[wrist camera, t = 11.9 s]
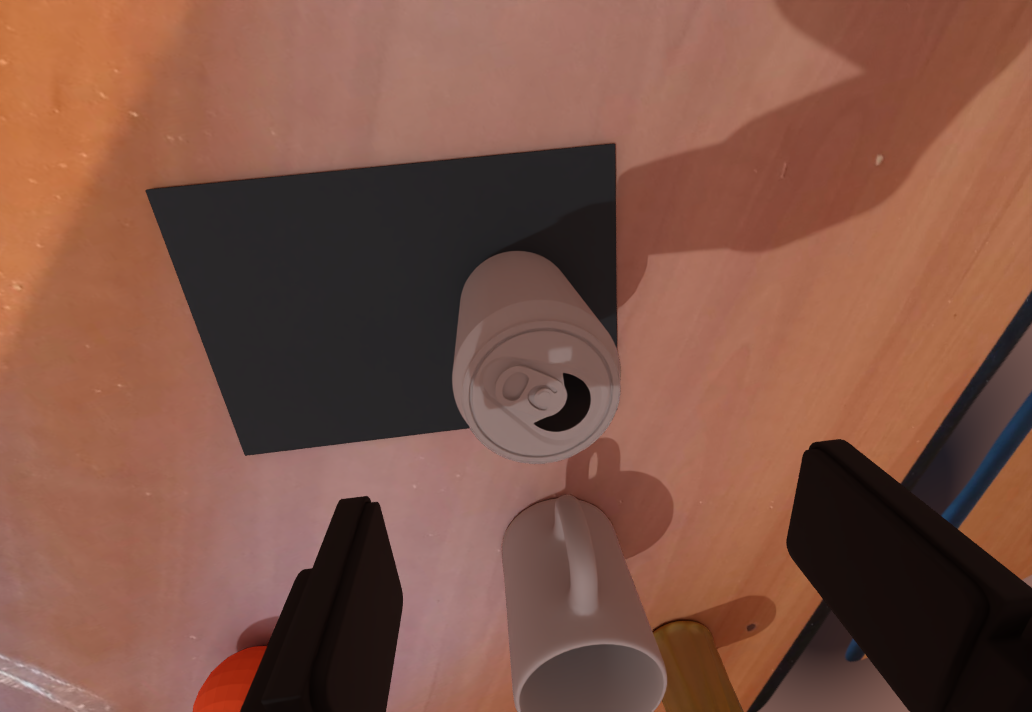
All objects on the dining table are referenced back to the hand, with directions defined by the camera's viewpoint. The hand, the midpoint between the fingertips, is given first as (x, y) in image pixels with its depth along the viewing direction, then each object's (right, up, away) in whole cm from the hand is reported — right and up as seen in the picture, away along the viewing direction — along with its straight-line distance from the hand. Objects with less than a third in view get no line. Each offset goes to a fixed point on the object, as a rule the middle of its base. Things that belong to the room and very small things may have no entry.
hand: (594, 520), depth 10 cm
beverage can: (-2, +7, +17) cm, 19 cm away
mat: (-8, +6, +17) cm, 20 cm away
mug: (+1, -9, +25) cm, 26 cm away
